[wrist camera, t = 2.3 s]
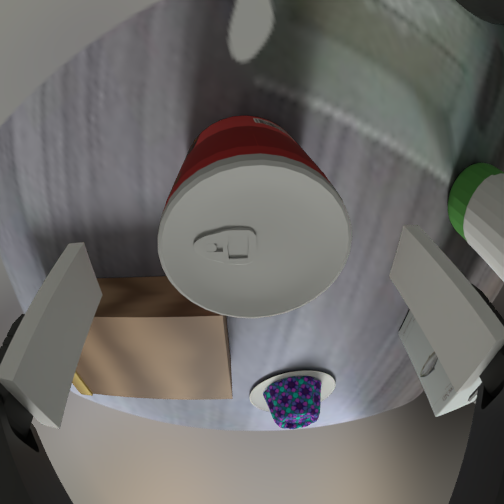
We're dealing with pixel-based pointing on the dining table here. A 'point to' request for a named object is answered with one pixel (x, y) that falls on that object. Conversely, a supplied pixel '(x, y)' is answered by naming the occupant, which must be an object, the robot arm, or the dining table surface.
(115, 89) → the dining table surface
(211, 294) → the canned food
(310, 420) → the pudding
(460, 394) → the supplement box
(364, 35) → the dining table surface
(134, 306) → the wooden block
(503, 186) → the wine bottle
